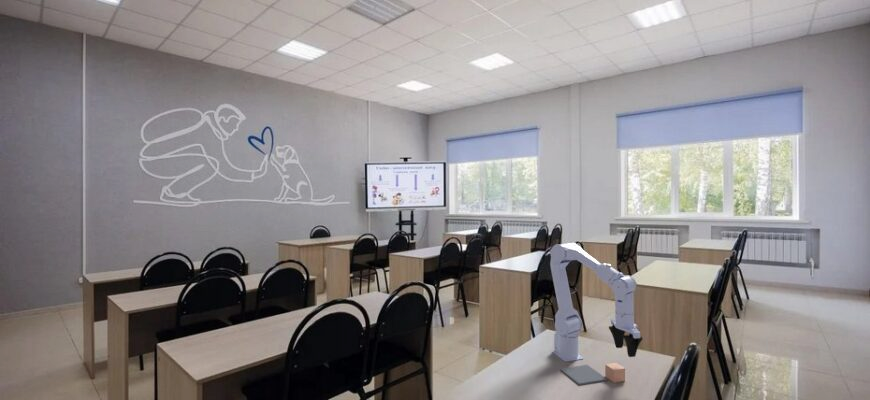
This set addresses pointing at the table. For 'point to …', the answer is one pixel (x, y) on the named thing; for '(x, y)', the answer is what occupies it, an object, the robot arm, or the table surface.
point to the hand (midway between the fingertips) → (625, 351)
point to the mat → (583, 374)
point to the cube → (615, 372)
